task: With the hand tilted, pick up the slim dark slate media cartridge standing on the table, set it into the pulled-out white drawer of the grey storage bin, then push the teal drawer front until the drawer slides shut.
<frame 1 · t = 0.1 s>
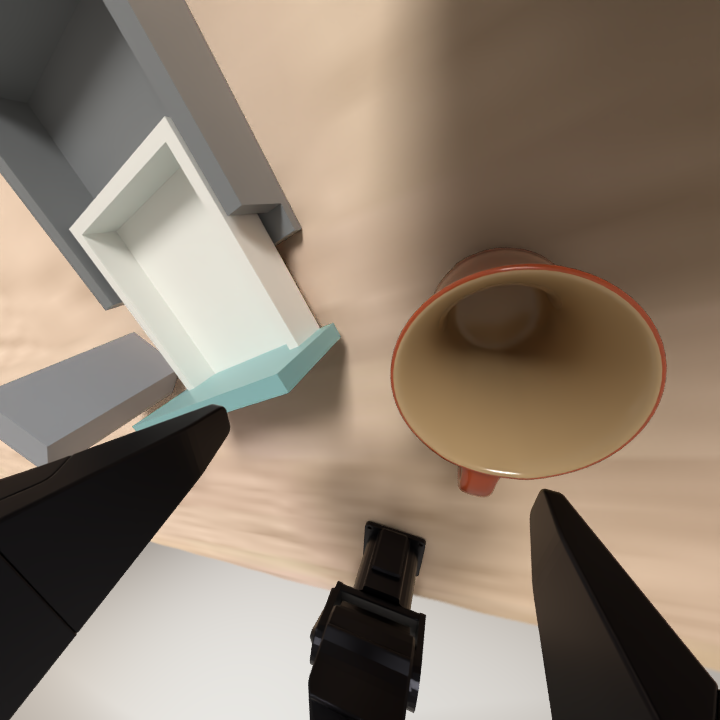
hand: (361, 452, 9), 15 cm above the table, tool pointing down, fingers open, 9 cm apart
grey storage bin: (157, 161, 22), on the table
cartridge: (153, 363, 33), on the table
mug: (488, 326, 21), on the table
white drawer: (178, 295, 21), point 5 cm above the table, slide at 8.0 cm
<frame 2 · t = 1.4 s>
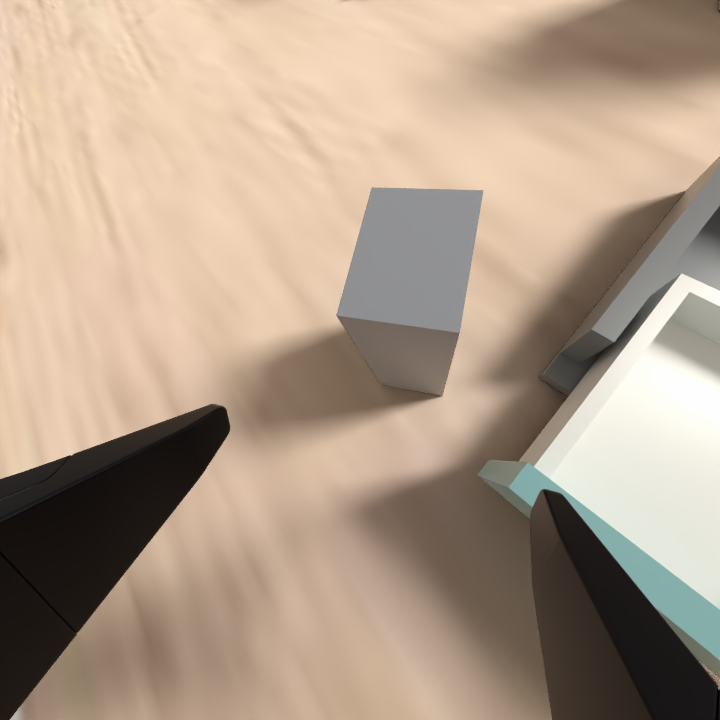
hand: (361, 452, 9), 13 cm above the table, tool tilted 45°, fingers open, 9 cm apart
cartridge: (418, 351, 23), on the table
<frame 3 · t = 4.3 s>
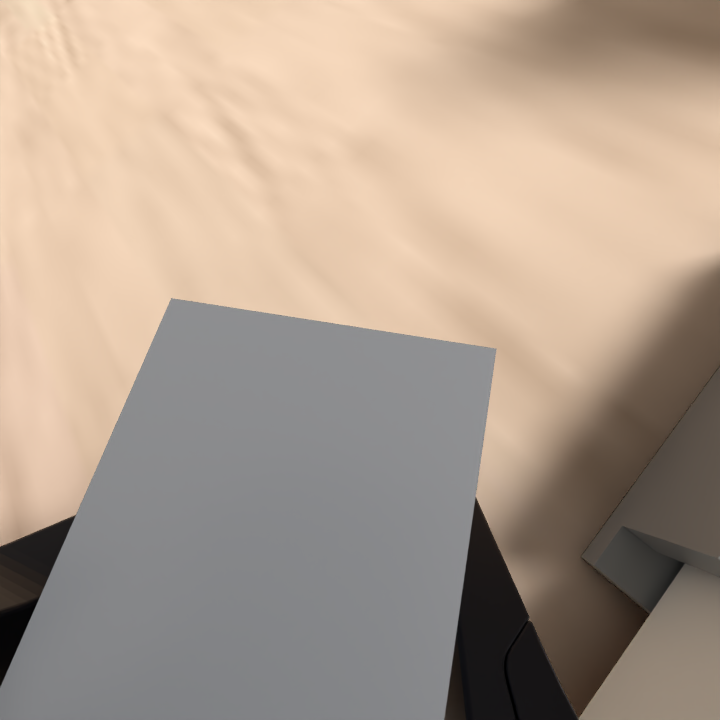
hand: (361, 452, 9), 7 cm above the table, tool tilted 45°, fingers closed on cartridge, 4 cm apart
cartridge: (382, 485, 14), on the table, touching gripper
when the fingers open (10 cm above the table, at t = 8.0 s): cartridge drops 1 cm, resting on white drawer.
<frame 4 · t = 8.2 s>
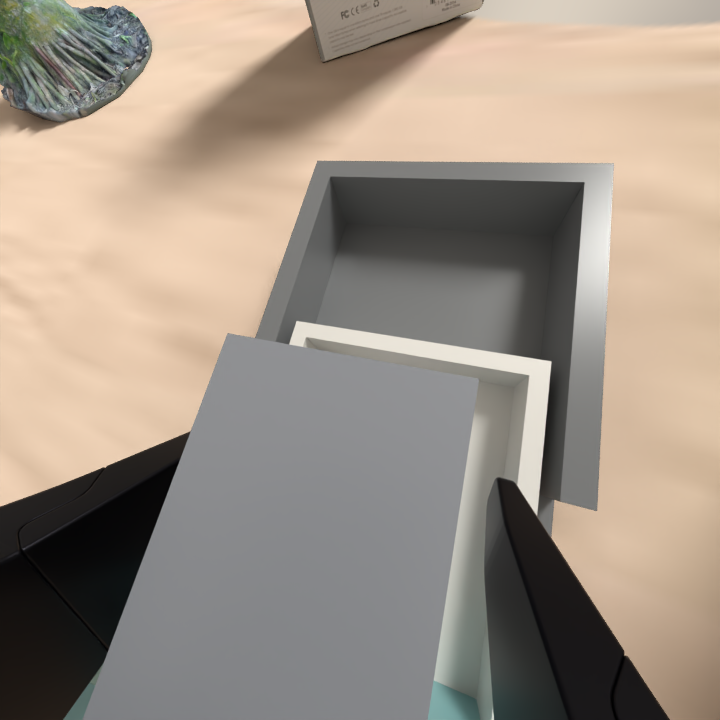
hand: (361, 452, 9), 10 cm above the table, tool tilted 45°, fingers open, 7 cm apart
grey storage bin: (418, 341, 20), on the table
hard drive box: (392, 19, 30), on the table
cartridge: (386, 483, 16), point 2 cm above the table, touching white drawer
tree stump: (85, 74, 40), on the table
white drawer: (372, 504, 13), point 5 cm above the table, slide at 8.0 cm, touching cartridge
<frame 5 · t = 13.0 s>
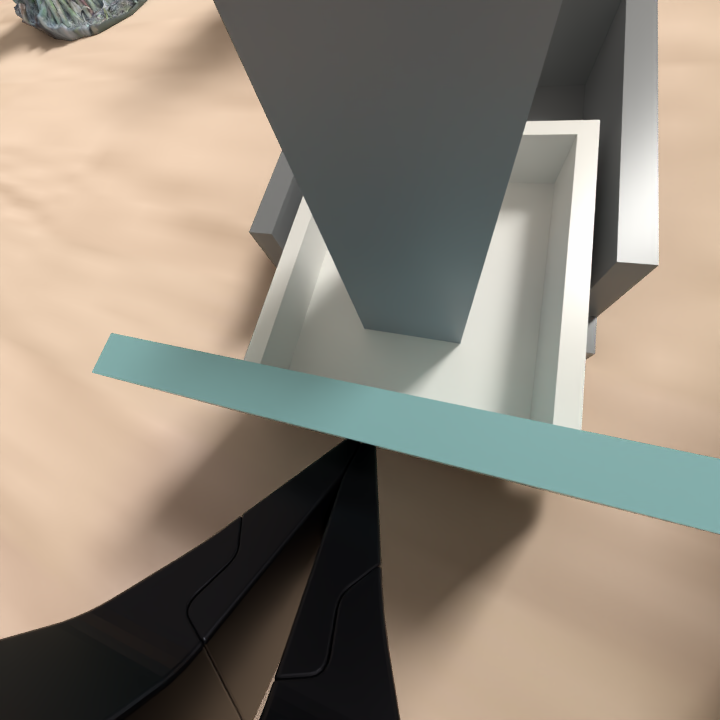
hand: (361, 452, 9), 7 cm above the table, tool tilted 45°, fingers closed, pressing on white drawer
grey storage bin: (443, 199, 19), on the table
cartridge: (422, 279, 15), point 2 cm above the table, touching white drawer
white drawer: (417, 251, 12), point 5 cm above the table, slide at 6.4 cm, touching cartridge, gripper
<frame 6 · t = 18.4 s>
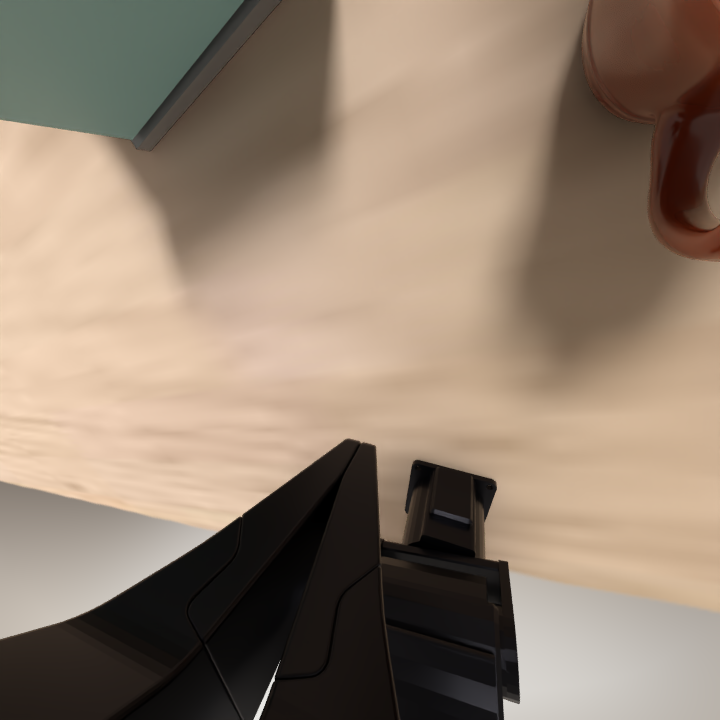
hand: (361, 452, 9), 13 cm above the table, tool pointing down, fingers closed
mug: (665, 68, 12), on the table
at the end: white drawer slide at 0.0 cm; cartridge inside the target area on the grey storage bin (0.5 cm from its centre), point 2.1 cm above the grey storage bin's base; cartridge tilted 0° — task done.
